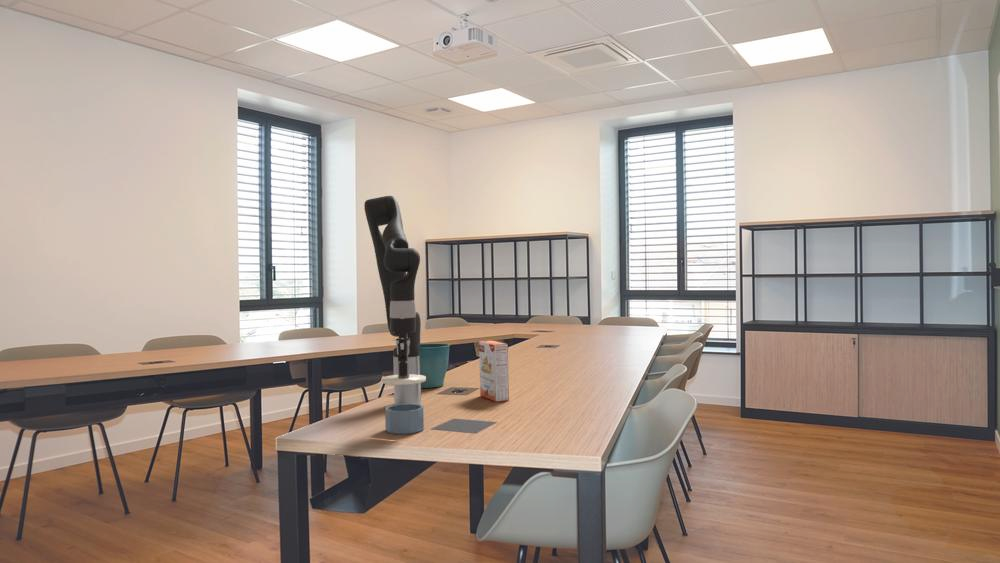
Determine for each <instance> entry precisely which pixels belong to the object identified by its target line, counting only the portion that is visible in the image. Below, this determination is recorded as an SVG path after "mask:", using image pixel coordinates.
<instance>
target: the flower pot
mask: <svg viewBox="0 0 1000 563" xmlns="http://www.w3.org/2000/svg"><path fill="white" fill-rule="evenodd" d="M450 346H451V345H450V344H448V343H439V342H437V343H435V342H434V343H420V350H419V364H420V375H423V376H426V381H425V382H422V383H421V389H423V388H424V389H431V388H432V389H433V388H440V387H442V386H444V382H445V377H446V374H447V371H448V367H449V359H450V358H449V357H450Z"/></svg>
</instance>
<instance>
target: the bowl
mask: <svg viewBox="0 0 1000 563" xmlns="http://www.w3.org/2000/svg"><path fill="white" fill-rule="evenodd" d="M384 410H385V411H384V412H385V416H384V420H385V431H386V432H387V433H388V434H392V435H412V434H417V433H420V432H422V431H423V430H424V429H425V426H424V425H425V424H424V421H425V420H424V419H425V418H424V416H425V414H424V413H425V412H424V405H422V404H397V405H394V404H393V405H388V406H385V409H384Z"/></svg>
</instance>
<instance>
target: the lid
mask: <svg viewBox="0 0 1000 563" xmlns="http://www.w3.org/2000/svg"><path fill="white" fill-rule="evenodd" d="M425 381H426V376H423V375H415V374H409V359H408V362H407V375H406V376H400V375H399V362H398V375H394V374H392V375H386V376H383V377H381V379H380V382H381V383H382V384H384V385H390V386H391V385H393V386H394V385H407V384H417V383H422V382H425Z"/></svg>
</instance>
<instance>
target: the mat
mask: <svg viewBox="0 0 1000 563" xmlns="http://www.w3.org/2000/svg"><path fill="white" fill-rule="evenodd" d="M497 423H498V421H488V420H475V419H464V418H463V419H462V418H452V419H449V420H448V421H445V422H443V423H440V424H439V425H436V426H434V427H432V428H430V430H433V431H443V432H444V431H445V432H454V433H455V432H457V433H466V434H468V433H469V434H478V433H480V432H482V431H484V430H486V429H487V428H489V427H492V426H494V424H497Z"/></svg>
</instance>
